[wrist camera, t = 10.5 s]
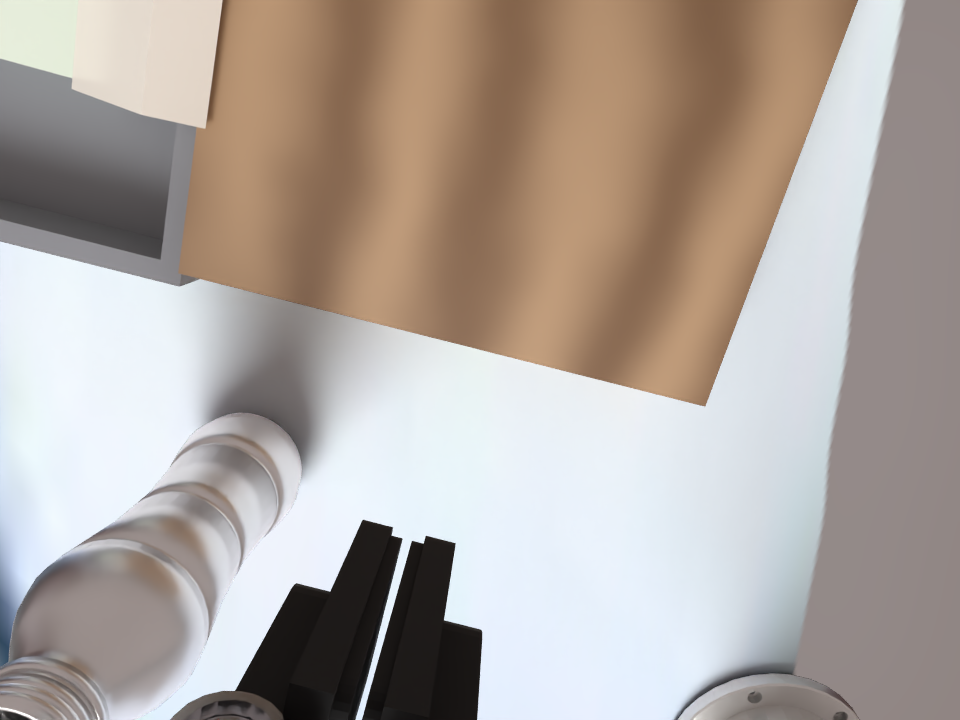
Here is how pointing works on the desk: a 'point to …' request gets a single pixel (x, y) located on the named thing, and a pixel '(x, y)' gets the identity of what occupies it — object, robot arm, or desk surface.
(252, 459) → the plastic bottle
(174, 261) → the bin
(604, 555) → the desk surface
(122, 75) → the tile cream
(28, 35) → the tile sage
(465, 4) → the wooden block
